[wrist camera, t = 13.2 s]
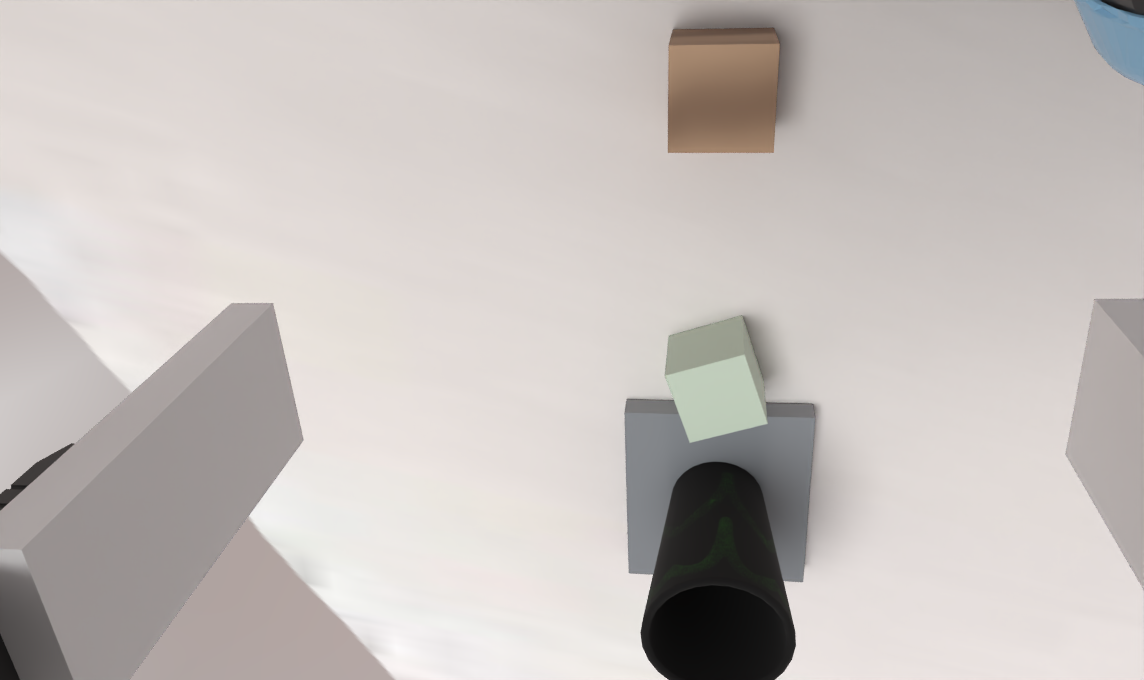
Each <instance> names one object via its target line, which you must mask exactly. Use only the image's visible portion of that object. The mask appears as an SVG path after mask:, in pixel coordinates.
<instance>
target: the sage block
mask: <svg viewBox="0 0 1144 680" xmlns="http://www.w3.org/2000/svg"><path fill="white" fill-rule="evenodd" d="M665 378H666V380H667V383H668V386H669V388H670V391H671V394H672V396H673V399H674V402H675V404H676V407H677V410H678V412H679V415H680V418H681V420H682V423H683V426H684V428H685V431H686V434H687V436H688V439H689V442H690V443H691V442H695V441H699V440H704V439H708V438H712V437H716V436H720V435H724V434H728V433H732V432H736V431H740V430H744V429H748V428H752V427H756V426H760V425H765V424H768V421H767V411H766V400H765V390H764V380H763V377H762V374H761V371H760V368H759V365H758V362H757V359H756V356H755V353H754V350H753V347H752V344H751V341H750V338H749V335H748V332H747V329H746V326H745V323H744V319H743V316H738V317H734V318H731V319H727V320H724V321H720V322H716V323H713V324H709V325H706V326H702V327H698V328H695V329H691V330H688V331H684V332H681V333H677V334H673V335H670V336H669V338H668V348H667V358H666V368H665Z"/></svg>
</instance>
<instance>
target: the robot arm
mask: <svg viewBox="0 0 1144 680" xmlns="http://www.w3.org/2000/svg"><path fill="white" fill-rule="evenodd" d="M1074 1H1075V3H1076V6H1077V8H1078V10H1079V13H1080V15H1081V17H1082V20H1083V22H1084V24H1085V26H1086V29H1087V31H1088V33H1089V36H1090V38H1091V40H1092V43H1093V45H1094V47H1095V49H1096V50H1097V52H1098V53H1099V54H1100V55H1101V56H1102V57H1103V59H1104V60H1105V61H1106V62H1107V63H1108V64H1109V65H1110V66H1111V67H1112V68H1113V69H1114V70H1116V71H1117V72H1119V73H1120V74H1121V75H1123V76H1124V77H1126V78H1128V79H1131V80H1133V81H1135V82H1137V83H1139V84H1142V85H1144V0H1074ZM302 442H303V435H302V431H301V426H300V422H299V417H298V413H297V408H296V404H295V399H294V395H293V390H292V386H291V381H290V377H289V372H288V368H287V364H286V359H285V355H284V350H283V346H282V341H281V337H280V332H279V328H278V323H277V319H276V314H275V310H274V305H273V303H231V304H230V305H229V306H228V307H227V308H226V309H225V310H223V311H222V312H221V313H220V314H219V315H218V316H217V317H216V318H215V319H213V320H212V321H211V322H210V323H209V324H208V325H207V326H206V327H205V328H203V329H202V330H201V331H200V332H199V333H198V334H197V335H196V336H195V337H193V338H192V339H191V340H190V341H189V342H188V343H187V344H186V345H184V346H183V347H182V348H181V349H180V350H179V351H178V352H177V353H176V354H174V355H173V356H172V357H171V358H170V359H169V360H168V361H167V362H166V363H164V364H163V365H162V366H161V367H160V368H159V369H158V370H157V371H156V372H154V373H153V374H152V375H151V376H150V377H149V378H148V379H147V380H145V381H144V382H143V383H142V384H141V385H140V386H139V387H138V388H137V389H135V390H134V391H133V392H132V393H131V394H130V395H129V396H128V397H127V398H126V399H124V400H123V401H122V402H121V403H120V404H119V405H118V406H117V407H115V408H114V409H113V410H112V411H111V412H110V413H109V414H108V415H106V416H105V417H104V418H103V419H102V420H101V421H100V422H99V423H98V424H97V425H95V426H94V427H93V428H92V429H91V430H90V431H89V432H88V433H86V434H85V435H84V436H83V437H82V438H81V439H80V440H79V441H78V442H76V443H75V444H70V445H68V446H66V447H64V448H62V449H61V450H59V451H57V452H55V453H53V454H51V455H50V456H48V457H46V458H45V459H42V460H40V461H39V462H37V463H36V464H34V465H33V466H32V467H31V468H30V469H29V470H28V471H26V472H25V473H24V474H23V475H22V476H21V477H20V478H18V479H17V480H16V481H15V482H14V483H13V484H12V485H11V489H6V490H5V491H4V492H2V493H1V494H0V680H130V679H131V677H132V676H133V674H134V673H135V672H136V670H137V669H138V668H139V666H140V665H141V663H142V662H143V660H144V659H145V658H146V657H147V655H148V654H149V652H150V651H151V650H152V648H153V647H154V645H155V644H156V643H157V641H158V640H159V639H160V637H161V636H162V635H163V633H164V632H165V630H166V629H167V628H168V626H169V625H170V623H171V622H172V621H173V619H174V618H175V617H176V615H177V614H178V612H179V611H180V610H181V608H182V607H183V606H184V604H185V603H186V601H187V600H188V599H189V597H190V596H191V595H192V593H193V592H194V590H195V589H196V588H197V586H198V585H199V583H200V582H201V581H202V579H203V578H204V577H205V575H206V574H207V573H208V571H209V570H210V568H211V567H212V566H213V564H214V563H215V562H216V560H217V559H218V557H219V556H220V555H221V553H222V552H223V550H224V549H225V548H226V546H227V545H228V543H229V542H230V541H231V539H232V538H233V537H234V535H235V534H236V533H237V531H238V530H239V528H240V527H241V526H242V524H243V523H244V522H245V520H246V519H247V517H248V516H249V515H250V513H251V512H252V511H253V509H254V508H255V506H256V505H257V504H258V502H259V501H260V500H261V498H262V497H263V495H264V494H265V493H266V491H267V490H268V488H269V487H270V486H271V484H272V483H273V482H274V480H275V479H276V477H277V476H278V475H279V473H280V472H281V471H282V469H283V468H284V466H285V465H286V464H287V462H288V461H289V460H290V458H291V457H292V455H293V454H294V453H295V451H296V450H297V449H298V447H299V446H300V444H301V443H302ZM1066 456H1067V458H1068V460H1069V461H1070V463H1071V465H1072V467H1073V468H1074V470H1075V472H1076V473H1077V475H1078V477H1079V479H1080V480H1081V482H1082V484H1083V486H1084V487H1085V489H1086V491H1087V492H1088V494H1089V496H1090V498H1091V499H1092V501H1093V503H1094V505H1095V506H1096V508H1097V510H1098V512H1099V513H1100V515H1101V517H1102V518H1103V520H1104V522H1105V524H1106V525H1107V527H1108V529H1109V531H1110V532H1111V534H1112V536H1113V537H1114V539H1115V541H1116V543H1117V544H1118V546H1119V548H1120V550H1121V551H1122V553H1123V555H1124V557H1125V558H1126V560H1127V562H1128V563H1129V565H1130V567H1131V569H1132V570H1133V572H1134V574H1135V576H1136V577H1137V579H1138V581H1139V582H1140V584H1141V586H1142V588H1143V589H1144V299H1094V304H1093V309H1092V314H1091V320H1090V325H1089V330H1088V336H1087V341H1086V347H1085V352H1084V357H1083V363H1082V368H1081V373H1080V379H1079V384H1078V389H1077V395H1076V400H1075V405H1074V411H1073V416H1072V421H1071V427H1070V432H1069V438H1068V443H1067V448H1066Z"/></svg>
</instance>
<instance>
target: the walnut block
mask: <svg viewBox="0 0 1144 680" xmlns="http://www.w3.org/2000/svg"><path fill="white" fill-rule="evenodd" d="M779 49H780V43H779V40H778V38H777V35H776V32H775V30H774V28H730V29H673V31H672V35H671V39H670V43H669V74H668V153H774V137H775V119H776V102H777V84H778V66H779Z"/></svg>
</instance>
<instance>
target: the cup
mask: <svg viewBox="0 0 1144 680" xmlns="http://www.w3.org/2000/svg"><path fill="white" fill-rule="evenodd" d="M641 640H642V647H643V649H644V651H645V653H646V655H647V658H648V660H649V661H650V662H651V664H652V665H653V666H654V667H655V668H656V670H657V671H658V672H659V673H661V674H662V675H663V676H664V677H666V678H667V679H668V680H775V679H776V678H777V677H778V676H780V675H781V674H782V673H783V672H784V671H785V669H786V668H787V666H788V665H789V663H790V662H791V660H792V657H793V654H794V650H795V647H796V640H795V629H794V625H793V620H792V616H791V612H790V608H789V603H788V599H787V595H786V591H785V586H784V582H783V578H782V574H781V569H780V565H779V561H778V557H777V552H776V548H775V544H774V539H773V535H772V531H771V527H770V522H769V518H768V514H767V510H766V505H765V501H764V497H763V493H762V490H761V488H760V485H759V483H758V482H757V481H756V479H755V478H754V477H753V476H752V475H751V474H750V473H749V472H747V471H746V470H745V469H743V468H741V467H739V466H737V465H734V464H730V463H726V462H707V463H702V464H699V465H696V466H693V467H692V468H690V469H689V470H687V471H685V472H684V473H683V474H682V475H681V476H680V477H679V478H678V479H677V481H676V483H675V485H674V487H673V491H672V495H671V499H670V504H669V508H668V512H667V517H666V521H665V526H664V530H663V534H662V539H661V543H660V547H659V552H658V556H657V560H656V565H655V569H654V574H653V578H652V582H651V587H650V591H649V595H648V600H647V604H646V609H645V613H644V617H643V622H642V628H641Z"/></svg>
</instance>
